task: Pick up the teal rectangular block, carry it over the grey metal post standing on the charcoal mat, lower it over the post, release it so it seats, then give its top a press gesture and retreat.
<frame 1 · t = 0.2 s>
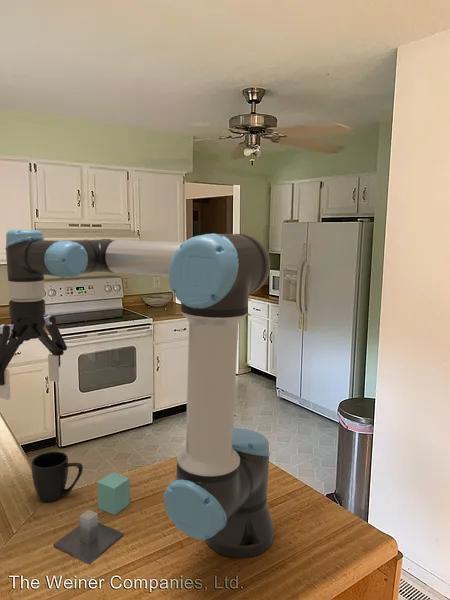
hand: (30, 389, 109), 27 cm above the kitchen counter, fingers open, 13 cm apart
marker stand: (89, 540, 99), on the kitchen counter
teal rectangular block: (113, 505, 111), on the kitchen counter
mug: (58, 497, 114), on the kitchen counter
supplement tub: (210, 466, 130), on the kitchen counter
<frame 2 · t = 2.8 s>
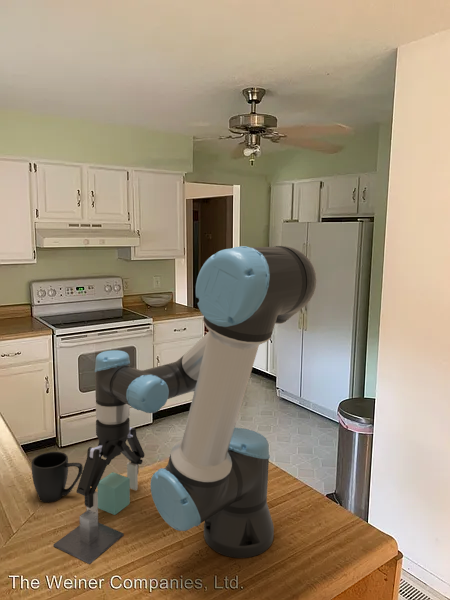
hand: (113, 502, 111), 1 cm above the kitchen counter, fingers open, 13 cm apart
nothing on the kitchen counter moved.
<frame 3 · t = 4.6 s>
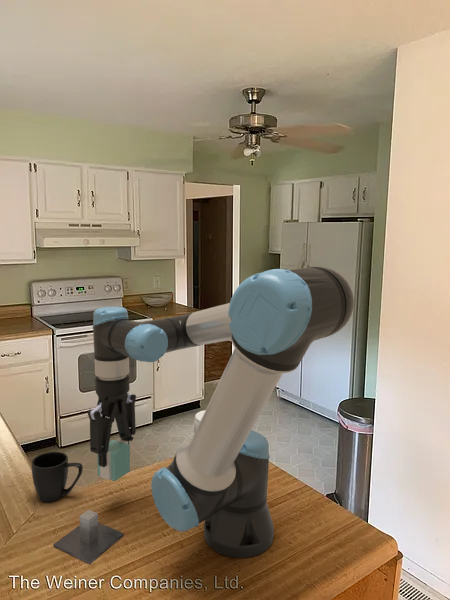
hand: (114, 472, 109), 9 cm above the kitchen counter, fingers closed on teal rectangular block, 5 cm apart
teal rectangular block: (113, 473, 109), point 8 cm above the kitchen counter, touching gripper
everything else where it was.
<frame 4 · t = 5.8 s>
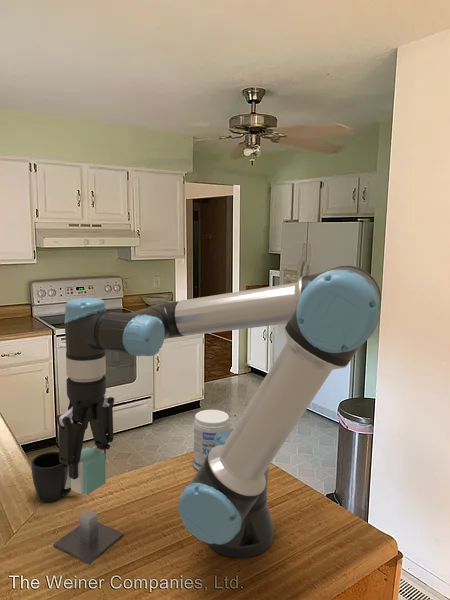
hand: (88, 484, 97), 13 cm above the kitchen counter, fingers closed on teal rectangular block, 5 cm apart
teal rectangular block: (87, 485, 97), point 12 cm above the kitchen counter, touching gripper
everything else where it was.
when the fingers open (2 cm above the kitchen counter, at t = 7.5 s): teal rectangular block drops 1 cm, resting on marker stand.
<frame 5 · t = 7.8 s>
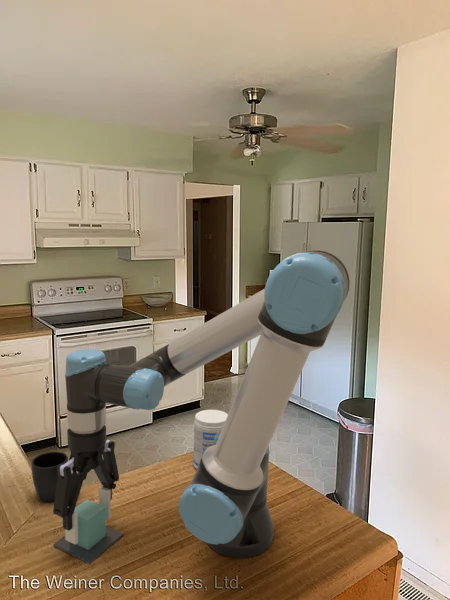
hand: (89, 528, 98), 3 cm above the kitchen counter, fingers open, 9 cm apart
teal rectangular block: (88, 538, 99), resting on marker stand
everything else where it was.
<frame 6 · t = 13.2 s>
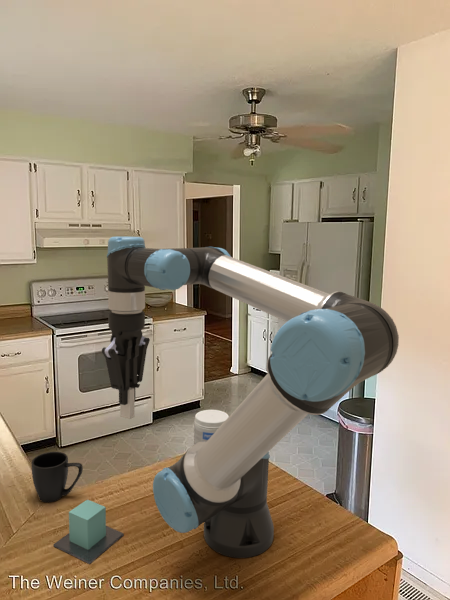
hand: (127, 416, 102), 24 cm above the kitchen counter, fingers closed
nothing on the kitchen counter moved.
at the end: teal rectangular block 0.3 cm from the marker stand (horizontally); teal rectangular block point 0.5 cm above the kitchen counter; teal rectangular block tilted 0° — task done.
